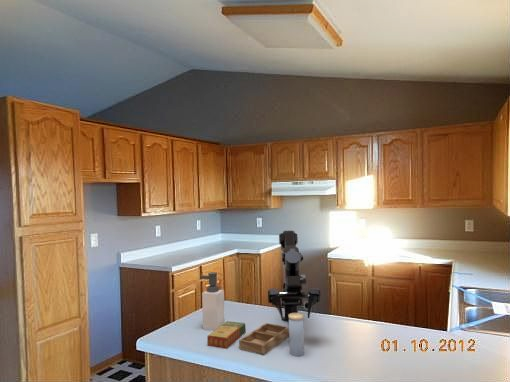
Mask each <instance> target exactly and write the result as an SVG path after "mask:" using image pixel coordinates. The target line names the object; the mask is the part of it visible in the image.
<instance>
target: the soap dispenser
mask: <svg viewBox="0 0 510 382" xmlns="http://www.w3.org/2000/svg"><path fill="white" fill-rule="evenodd" d="M217 274H218V272H216V271H210V272H208V274H207V275H205V274H201V275H199V279H200V280H208V286H207V287H206V290H205V291H203V292H202V293H201V301H202V330H209V331H214V330H216V329H217V328H219V327H220V326H221V325H223V324H224V323H225V322H226V321H225V320H226V319H225V315H226V314H225V290H224V289H220V286H219V285H218V284H217V283H218V282H217V281H218V278H217V277H218V275H217Z"/></svg>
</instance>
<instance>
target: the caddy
mask: <svg viewBox="0 0 510 382" xmlns="http://www.w3.org/2000/svg"><path fill="white" fill-rule="evenodd" d="M288 337H289V326H285V325H280V324H279V325H278V324H274V323H269V322H265V323H264V324H262V325H260V326H259V327H257V328H256V329H254V330H253V331H251V332H250V333H248V334H246V335H245V336H242V337H241V338H239V339H238V349H239V350H241V351H242V350H243V351H246V352H250V353H255V354H258V355H262V356H265V355H266V354H268V353H269V352H271V350H272V349H274V348H275V347H277V345H279V344H280V343H281V342H283V341H284V340H286V339H287V338H288Z"/></svg>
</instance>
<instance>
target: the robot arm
mask: <svg viewBox="0 0 510 382" xmlns="http://www.w3.org/2000/svg"><path fill="white" fill-rule="evenodd" d="M278 237H279V238H278V243H279V245H280V250H281V251H282V252H281V262H282V263H283V265H284V281H285V282H284V283H283V285H282V291H280V290H279V289H280V288H269V289H268V290H267V295H268V296H267V301H268V303H269V304H271V305H273V306H274V307H275V308H276V310H277V311H278V313H279V316H280V318H281V321H285V322H289V318H288V315H289V314H290V313H299V307H301V306H303V302H304V301H303V299H307V301H308V302H307V319H310V317H311V316H310V315H311V313H312V312H311V311H312V309H313V307H314V305H316V304H317V303H318V304H319V302H321V301H320V299H321V290H320V288H317V287H315V288H313V287H312V288H308V291H306V292H305V291H303V286H302V285H307V276H306V274H301V273H300V268H301V263H302V262H303V261H304V256H303V254H302V253H301V252H300V250H299V247H297V245H298V234H297V233H296V232H295V230H282V232H281V233H279V234H278ZM282 307H284V316H283V308H282Z"/></svg>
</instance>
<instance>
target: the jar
mask: <svg viewBox="0 0 510 382" xmlns="http://www.w3.org/2000/svg"><path fill="white" fill-rule="evenodd" d="M288 318H289V321H288V327H289V336H288V337H289V338H288V344H289V355H290V356H292V357H301V356H303V355H304V354H305V342H304V341H305V340H304V336H305V335H304V334H305V333H304V314H303V313H300V312H298V313H290V314H289V315H288Z"/></svg>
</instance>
